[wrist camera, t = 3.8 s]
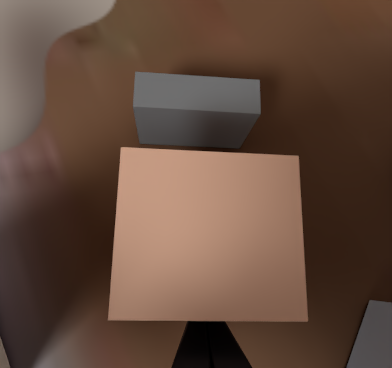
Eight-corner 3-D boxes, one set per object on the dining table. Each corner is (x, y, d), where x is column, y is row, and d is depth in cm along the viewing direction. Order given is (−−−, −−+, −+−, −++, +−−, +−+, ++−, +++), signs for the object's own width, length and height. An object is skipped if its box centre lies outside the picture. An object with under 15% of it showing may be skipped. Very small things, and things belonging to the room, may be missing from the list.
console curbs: (480, 134, 19) (560, 99, 15) (500, 237, 18) (594, 227, 14) (-146, 99, 17) (-240, 46, 13) (-180, 217, 15) (-297, 198, 11)
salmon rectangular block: (236, 297, 16) (308, 321, 8) (135, 296, 15) (107, 320, 8) (236, 209, 17) (298, 155, 9) (140, 206, 16) (121, 147, 9)
